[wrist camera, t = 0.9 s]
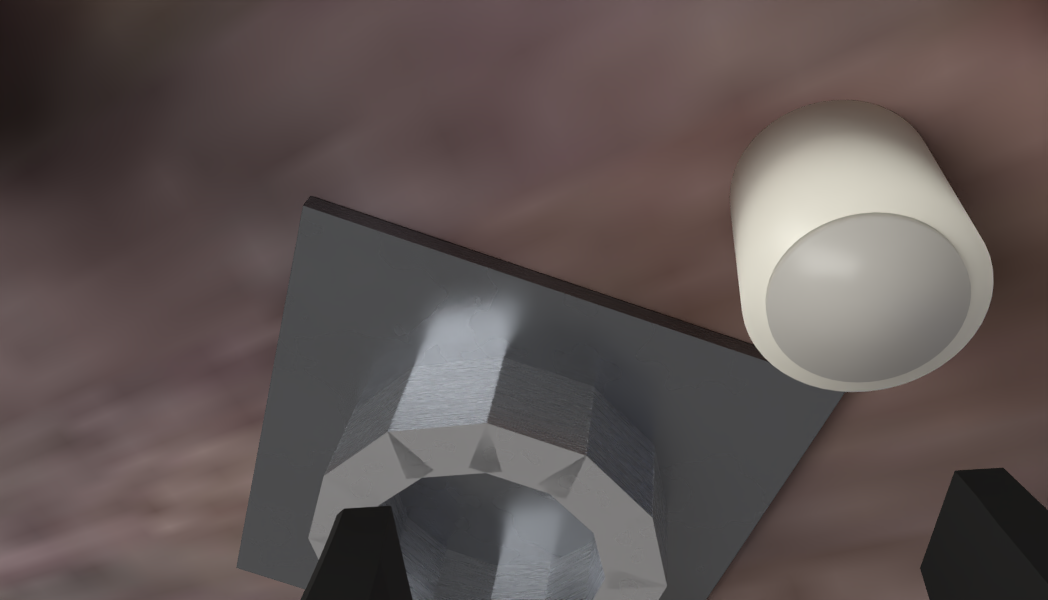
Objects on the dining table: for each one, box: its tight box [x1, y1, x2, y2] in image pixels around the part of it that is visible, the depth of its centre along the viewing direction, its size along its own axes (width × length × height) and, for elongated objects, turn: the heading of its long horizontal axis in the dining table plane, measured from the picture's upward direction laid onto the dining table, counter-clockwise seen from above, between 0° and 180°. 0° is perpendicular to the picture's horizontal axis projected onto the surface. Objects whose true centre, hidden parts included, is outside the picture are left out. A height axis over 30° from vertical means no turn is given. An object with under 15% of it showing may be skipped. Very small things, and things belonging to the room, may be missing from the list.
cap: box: [729, 100, 994, 392], centre depth 21 cm, size 5×5×5 cm
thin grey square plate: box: [236, 196, 845, 600], centre depth 28 cm, size 16×16×4 cm
